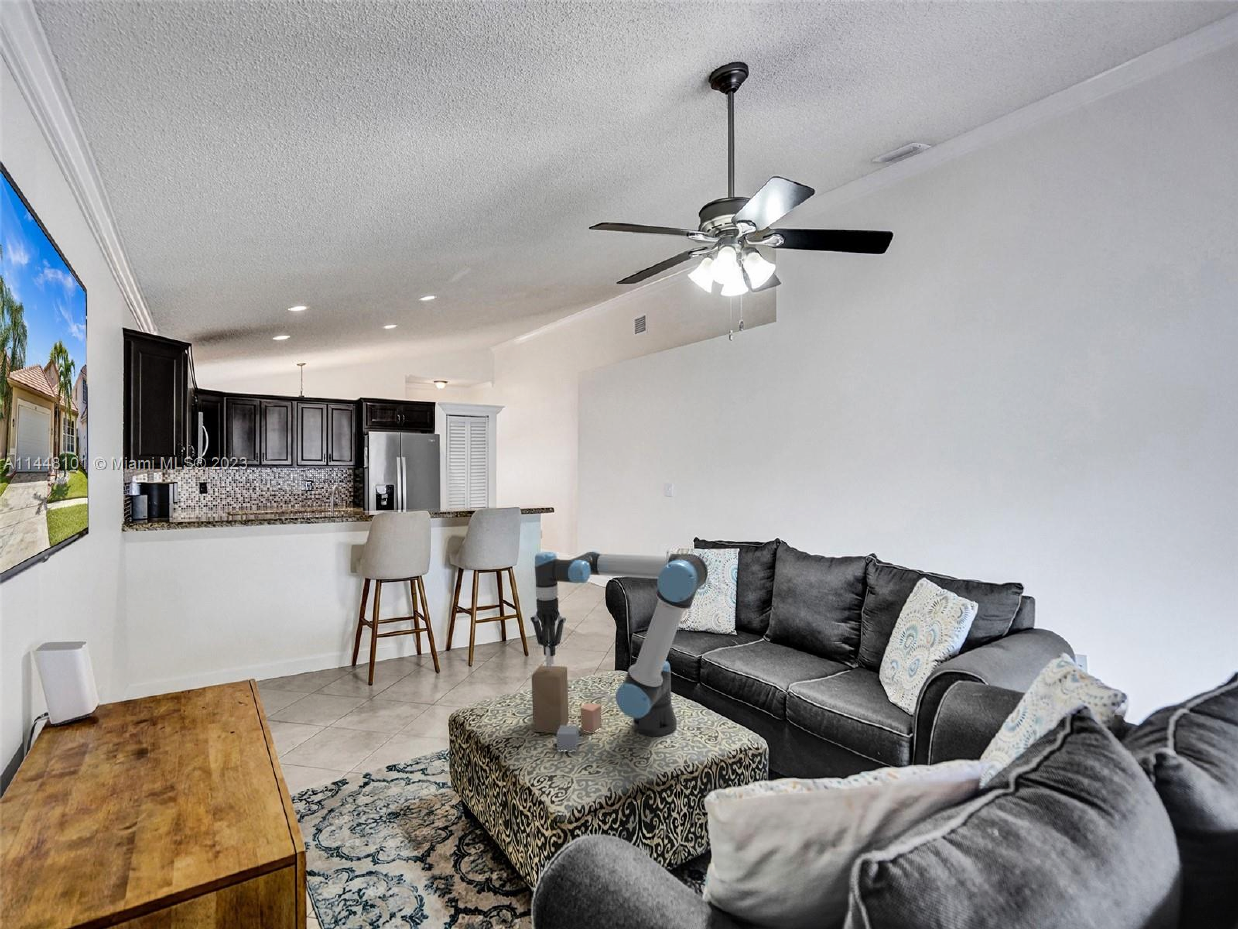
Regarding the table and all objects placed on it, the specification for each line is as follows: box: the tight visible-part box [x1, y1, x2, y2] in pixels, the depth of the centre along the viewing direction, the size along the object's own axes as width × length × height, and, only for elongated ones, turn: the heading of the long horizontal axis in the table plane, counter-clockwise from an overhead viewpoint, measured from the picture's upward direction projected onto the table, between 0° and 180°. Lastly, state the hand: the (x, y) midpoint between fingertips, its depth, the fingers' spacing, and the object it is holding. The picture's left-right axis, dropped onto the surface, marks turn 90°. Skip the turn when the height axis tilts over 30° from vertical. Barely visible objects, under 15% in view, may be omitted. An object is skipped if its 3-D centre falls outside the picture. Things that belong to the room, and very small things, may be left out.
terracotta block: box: [580, 702, 603, 732], centre depth 218 cm, size 5×5×8 cm
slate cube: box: [556, 724, 580, 751], centre depth 206 cm, size 6×6×6 cm
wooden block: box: [531, 665, 570, 734], centre depth 220 cm, size 10×10×20 cm
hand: (550, 664), depth 220 cm, fingers closed
